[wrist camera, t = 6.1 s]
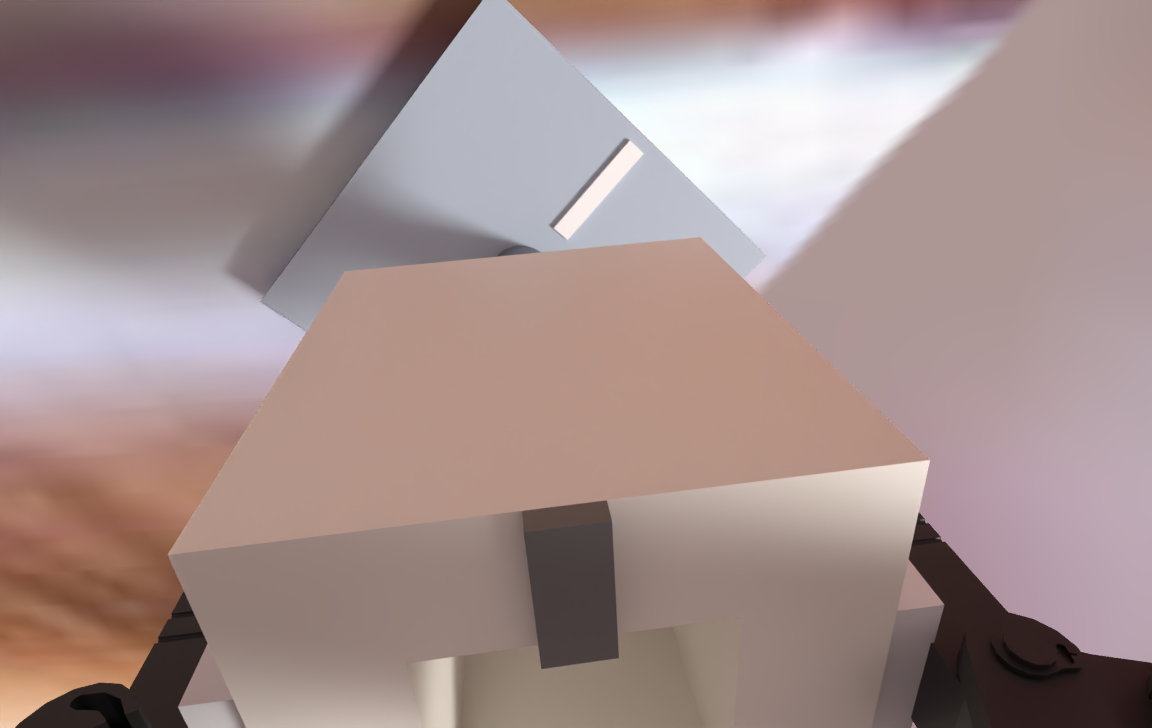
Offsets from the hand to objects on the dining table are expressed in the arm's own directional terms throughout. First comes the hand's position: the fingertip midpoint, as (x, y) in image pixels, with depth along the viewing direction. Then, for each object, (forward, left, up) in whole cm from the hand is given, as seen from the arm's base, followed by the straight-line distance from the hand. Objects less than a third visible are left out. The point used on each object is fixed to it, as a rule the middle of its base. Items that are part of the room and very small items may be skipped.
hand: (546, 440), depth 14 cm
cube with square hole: (0, 0, -1) cm, 1 cm away
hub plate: (0, 0, -11) cm, 11 cm away
